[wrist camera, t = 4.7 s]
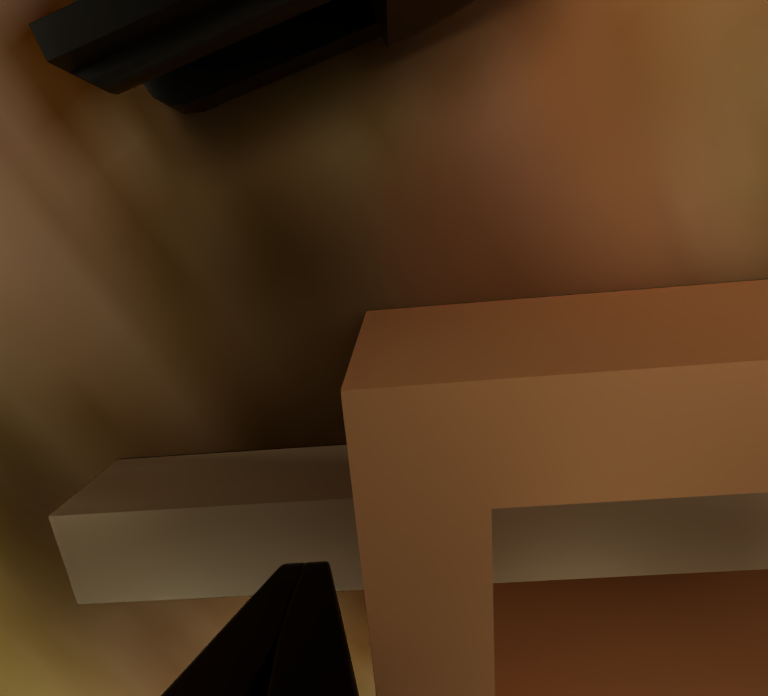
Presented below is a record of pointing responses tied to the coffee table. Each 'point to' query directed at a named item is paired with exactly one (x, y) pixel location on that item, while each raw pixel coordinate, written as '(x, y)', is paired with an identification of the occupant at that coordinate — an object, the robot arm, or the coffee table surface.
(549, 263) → the coffee table surface
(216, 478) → the rail
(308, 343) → the coffee table surface
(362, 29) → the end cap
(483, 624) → the collar
